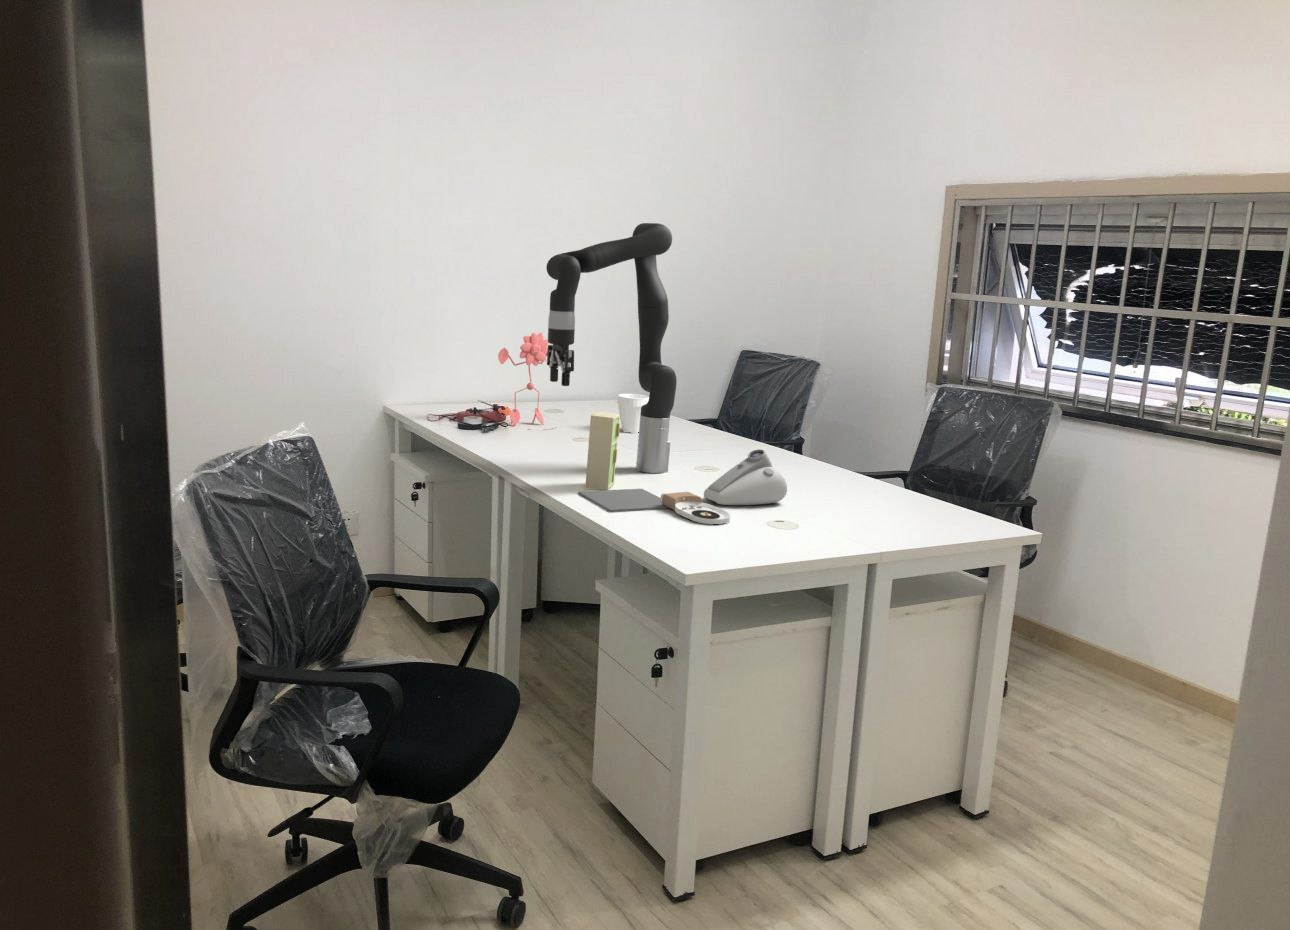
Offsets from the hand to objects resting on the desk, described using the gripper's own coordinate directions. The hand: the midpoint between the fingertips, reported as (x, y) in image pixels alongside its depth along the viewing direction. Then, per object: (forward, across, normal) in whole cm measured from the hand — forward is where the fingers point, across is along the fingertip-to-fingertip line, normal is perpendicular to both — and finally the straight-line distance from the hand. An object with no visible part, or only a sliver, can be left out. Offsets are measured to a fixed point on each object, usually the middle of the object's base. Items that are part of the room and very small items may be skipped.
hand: (559, 383), depth 286 cm
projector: (+29, -36, -42) cm, 62 cm away
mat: (+28, -30, -8) cm, 42 cm away
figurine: (+29, +80, -23) cm, 88 cm away
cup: (+30, +68, -59) cm, 94 cm away
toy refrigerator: (+28, -14, -8) cm, 32 cm away
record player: (+28, -47, -20) cm, 58 cm away
